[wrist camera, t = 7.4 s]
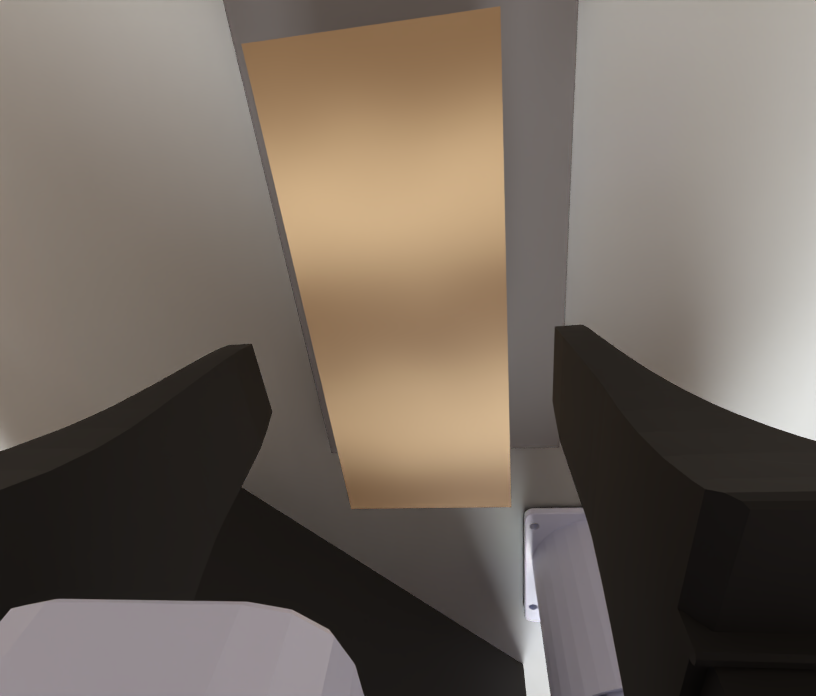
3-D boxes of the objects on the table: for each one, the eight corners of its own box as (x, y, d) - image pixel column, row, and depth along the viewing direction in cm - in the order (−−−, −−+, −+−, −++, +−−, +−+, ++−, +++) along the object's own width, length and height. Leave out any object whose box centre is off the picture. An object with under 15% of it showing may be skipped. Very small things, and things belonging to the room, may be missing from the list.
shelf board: (503, 439, 20) (511, 507, 17) (367, 443, 21) (351, 508, 18) (491, 19, 13) (500, 5, 10) (289, 48, 14) (241, 44, 11)
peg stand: (554, 431, 25) (571, 494, 21) (336, 437, 26) (316, 498, 22) (574, -100, 15) (611, -153, 11) (227, -42, 16) (160, -72, 13)
